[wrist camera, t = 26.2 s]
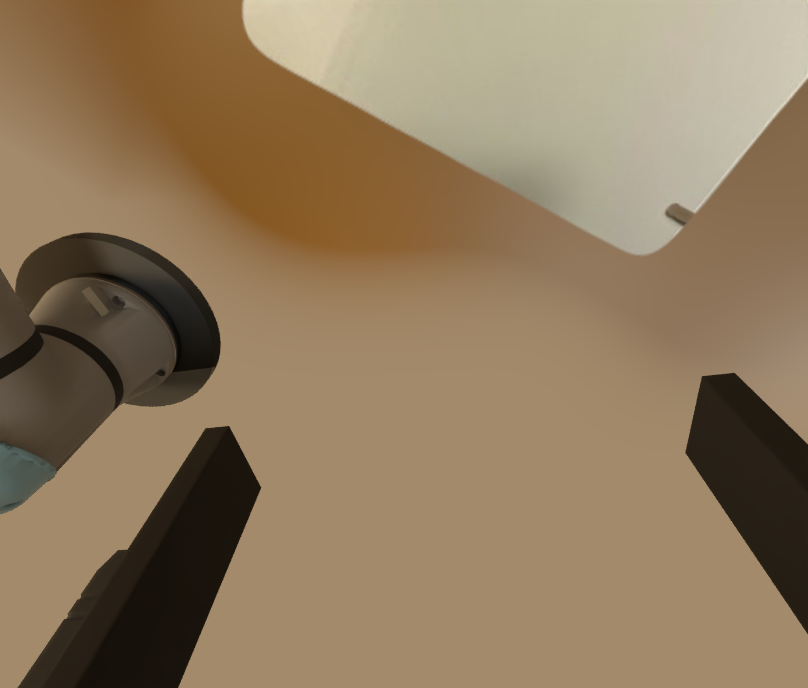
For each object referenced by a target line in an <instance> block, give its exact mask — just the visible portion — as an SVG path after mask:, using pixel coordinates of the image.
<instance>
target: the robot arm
mask: <svg viewBox="0 0 808 688" xmlns="http://www.w3.org/2000/svg"><path fill="white" fill-rule="evenodd" d="M181 352H182V345H181V339H180V335H179V332H178V330H177V328H176V325H175V323H174V322H173V320H172V318H171V317H170V315H169V314H168V313H167V311H166V310H165V309H164V308H163V307H162V306H161V305H160V303H159V302H157V301H156V300H155V299H154V298H153V297H152V296H151V295H149V294H148V293H147V292H145V291H144V290H142V289H141V288H139V287H138V286H136V285H134V284H132V283H130V282H128V281H126V280H123V279H121V278H118V277H115V276H111V275H108V274H102V273H81V274H77V275H73V276H71V277H69V278H67V279H65V280H63V281H61V282H59V283H57V284H56V285H54V286H53V287H51V288H50V289H49V290H48V291H47V292H46V293H45V295H44V296H43V297H42V298H41V300H40V301H39V303H38V304H37V305H36V307H35V308H34V310H33V311H32V312H31V314H30V315H28V313H27V311H26V310H25V308H24V306H23V305H22V303H21V302H20V300H19V298H18V297H17V295H16V293H15V292H14V290H13V289H12V287H11V286H10V284H9V282H8V280H7V279H6V277H5V276H4V274H3V272H2V271H1V269H0V514H3V513H6V512H8V511H11V510H13V509H15V508H17V507H18V506H20V505H21V504H23V503H24V502H25V501H26V500H27V499H28V498H29V497H30V496H31V495H33V494H34V493H35V492H36V491H37V490H38V489H39V488H40V487H42V486H43V485H44V484H45V483H46V482H48V481H50V480H51V479H52V478H54V476H55V474H56V472H57V471H58V470H59V469H60V468H61V467H62V465H64V464H65V462H67V460H68V459H69V458H70V457H71V456H72V455H73V454H74V453H75V452H76V451H77V450H78V449H79V448H80V447H81V445H82V444H83V443H84V442H85V441H86V440H87V439H88V438H89V437H90V436H91V435H92V434H93V432H95V430H96V429H97V428H98V427H99V426H100V425H101V424H102V423H103V422H104V421H105V420H106V418H108V417H109V416H110V414H111V413H112V412H113V411H114V410H115V409H116V408H117V407H118V406H119V405H121V404H123V403H125V402H127V401H129V400H131V399H133V398H135V397H137V396H139V395H141V394H143V393H145V392H147V391H149V390H151V389H153V388H155V387H157V386H158V385H160V384H161V383H163V382H164V381H165V380H166V379H167V378H168V377H169V376H170V375H171V374H172V372H173V371H174V370H175V369H176V367H177V366H178V364H179V361H180V358H181ZM686 454H687V456H688V457H689V459H690V460H691V462H692V463H693V465H694V466H695V468H696V469H697V471H698V472H699V474H700V475H701V477H702V478H703V480H704V481H705V482H706V484H707V485H708V487H709V489H710V490H711V491H712V493H713V494H714V496H715V497H716V499H717V500H718V502H719V503H720V505H721V506H722V508H723V509H724V511H725V512H726V514H727V515H728V517H729V518H730V520H731V521H732V522H733V524H734V526H735V527H736V528H737V530H738V531H739V533H740V534H741V536H742V537H743V539H744V540H745V542H746V543H747V545H748V546H749V548H750V549H751V551H752V552H753V553H754V555H755V557H756V558H757V560H758V561H759V562H760V564H761V565H762V567H763V568H764V570H765V571H766V573H767V574H768V576H769V577H770V578H771V580H772V582H773V583H774V585H775V586H776V588H777V589H778V591H779V592H780V594H781V595H782V596H783V598H784V599H785V601H786V602H787V604H788V605H789V607H790V608H791V610H792V611H793V613H794V614H795V616H796V617H797V619H798V620H799V622H800V623H801V624H802V626H803V628H804V629H805V630H806V632H807V633H808V444H807V443H806V442H805V441H804V440H803V439H802V438H801V437H800V436H799V435H798V434H797V433H796V432H795V431H794V430H793V429H791V427H789V426H788V425H787V424H786V423H785V422H784V421H783V420H782V419H781V418H780V417H779V416H778V415H777V414H776V413H775V412H774V411H773V410H772V409H771V408H770V407H769V406H768V405H767V404H766V403H765V402H764V401H763V400H762V399H761V398H760V397H759V396H758V395H757V394H756V393H755V392H754V391H753V390H752V389H751V388H750V387H748V386H747V385H746V384H745V383H744V382H743V381H742V380H741V379H740V378H739V377H738V376H737V375H736V374H735V373H729V374H720V375H710V376H702V379H701V384H700V388H699V393H698V397H697V402H696V406H695V411H694V415H693V420H692V425H691V429H690V434H689V438H688V443H687V448H686ZM260 489H261V487H260V485H259V483H258V481H257V479H256V477H255V475H254V473H253V471H252V469H251V467H250V465H249V463H248V461H247V460H246V458H245V456H244V454H243V452H242V450H241V448H240V446H239V444H238V442H237V440H236V438H235V437H234V435H233V433H232V431H231V429H230V427H229V426H225V427H215V428H206V429H205V430H204V432H203V433H202V435H201V437H200V438H199V440H198V441H197V443H196V445H195V446H194V447H193V449H192V451H191V452H190V453H189V455H188V457H187V458H186V460H185V461H184V463H183V464H182V466H181V467H180V469H179V471H178V472H177V474H176V475H175V477H174V478H173V480H172V482H171V483H170V485H169V486H168V488H167V489H166V491H165V492H164V494H163V496H162V497H161V499H160V500H159V502H158V503H157V505H156V506H155V508H154V509H153V511H152V513H151V514H150V516H149V517H148V519H147V521H146V522H145V523H144V525H143V527H142V528H141V530H140V531H139V533H138V534H137V536H136V537H135V539H134V541H133V542H132V544H131V545H130V547H129V548H128V550H118V551H117V552H116V553H115V554H114V555H113V556H112V557H111V558H110V559H109V560H108V561H107V562H106V563H105V564H104V565H103V566H102V567H101V568H100V569H98V570H97V572H96V573H95V575H94V576H93V578H92V579H91V580H90V582H89V583H88V585H87V586H86V588H85V589H84V591H83V592H82V594H81V598H80V599H79V600H77V601H76V603H75V604H74V606H73V607H72V609H71V610H70V611H69V613H68V617H67V619H64V620H63V622H62V623H61V625H60V626H59V628H58V629H57V631H56V632H55V634H54V635H53V637H52V638H51V639H50V641H49V642H48V644H47V645H46V647H45V649H44V650H43V651H42V653H41V654H40V656H39V657H38V659H37V660H36V662H35V663H34V665H33V666H32V667H31V669H30V670H29V672H28V673H27V675H26V676H25V678H24V679H23V681H22V682H21V684H20V685H19V687H18V688H178V687H179V684H180V682H181V679H182V677H183V675H184V672H185V670H186V667H187V665H188V662H189V660H190V658H191V655H192V653H193V651H194V648H195V646H196V643H197V641H198V638H199V636H200V634H201V631H202V629H203V627H204V624H205V622H206V619H207V617H208V614H209V612H210V610H211V607H212V605H213V602H214V600H215V597H216V595H217V593H218V590H219V588H220V586H221V583H222V581H223V578H224V576H225V573H226V571H227V569H228V566H229V564H230V562H231V559H232V557H233V554H234V552H235V549H236V547H237V544H238V542H239V540H240V537H241V535H242V533H243V530H244V528H245V525H246V523H247V521H248V518H249V516H250V513H251V511H252V508H253V506H254V504H255V501H256V499H257V496H258V494H259V491H260Z"/></svg>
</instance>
